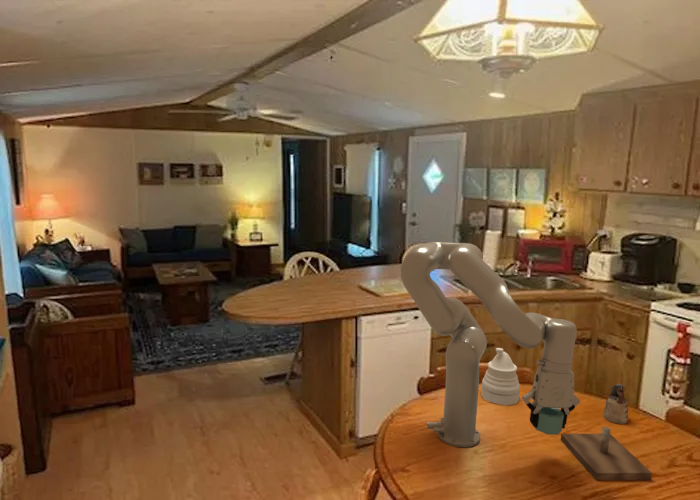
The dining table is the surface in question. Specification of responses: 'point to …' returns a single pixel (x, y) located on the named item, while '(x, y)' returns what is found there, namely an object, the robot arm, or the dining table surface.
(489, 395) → the honey pot
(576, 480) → the dining table surface
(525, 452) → the dining table surface
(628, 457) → the rod stand
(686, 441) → the dining table surface
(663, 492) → the dining table surface
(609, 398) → the figurine
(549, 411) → the bead
